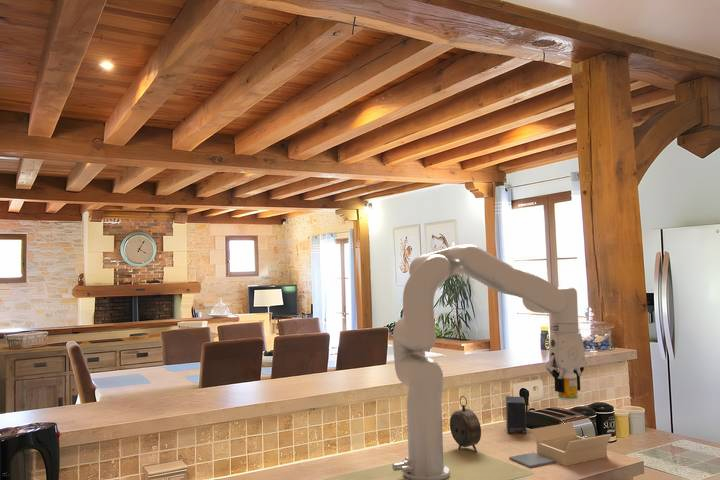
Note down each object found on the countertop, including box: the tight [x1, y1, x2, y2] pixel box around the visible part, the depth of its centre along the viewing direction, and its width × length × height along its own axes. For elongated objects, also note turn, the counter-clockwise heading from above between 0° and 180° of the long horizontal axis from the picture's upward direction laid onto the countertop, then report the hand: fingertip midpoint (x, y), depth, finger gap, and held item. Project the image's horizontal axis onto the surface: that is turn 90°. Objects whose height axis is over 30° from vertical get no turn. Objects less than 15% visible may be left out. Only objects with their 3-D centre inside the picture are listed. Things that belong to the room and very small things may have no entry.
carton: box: [530, 421, 612, 466], centre depth 173 cm, size 16×16×7 cm
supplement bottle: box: [557, 368, 579, 402], centre depth 174 cm, size 5×5×10 cm
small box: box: [505, 395, 527, 435], centre depth 203 cm, size 11×6×10 cm, turn 168°
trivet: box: [508, 451, 556, 469], centre depth 169 cm, size 9×9×1 cm
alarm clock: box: [449, 395, 482, 453], centre depth 183 cm, size 11×5×16 cm, turn 27°
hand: (567, 390), depth 174 cm, fingers closed on supplement bottle, 5 cm apart
